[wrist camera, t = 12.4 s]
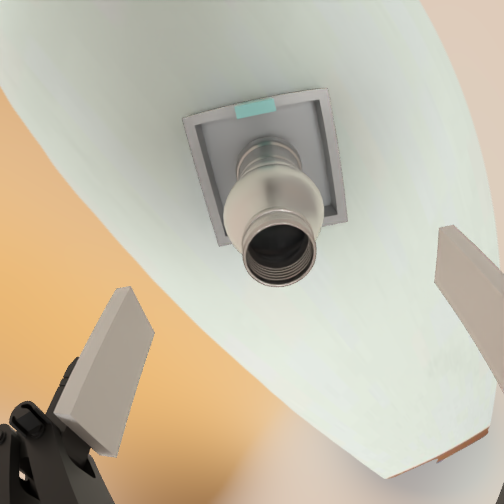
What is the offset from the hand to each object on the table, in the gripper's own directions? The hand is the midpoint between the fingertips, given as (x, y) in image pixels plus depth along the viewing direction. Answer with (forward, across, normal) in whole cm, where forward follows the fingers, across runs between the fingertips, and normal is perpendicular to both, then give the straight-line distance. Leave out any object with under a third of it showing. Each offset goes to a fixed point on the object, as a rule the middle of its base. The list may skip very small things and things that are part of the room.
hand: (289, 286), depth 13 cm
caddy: (+24, 0, -1) cm, 24 cm away
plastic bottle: (+23, 0, -1) cm, 23 cm away
